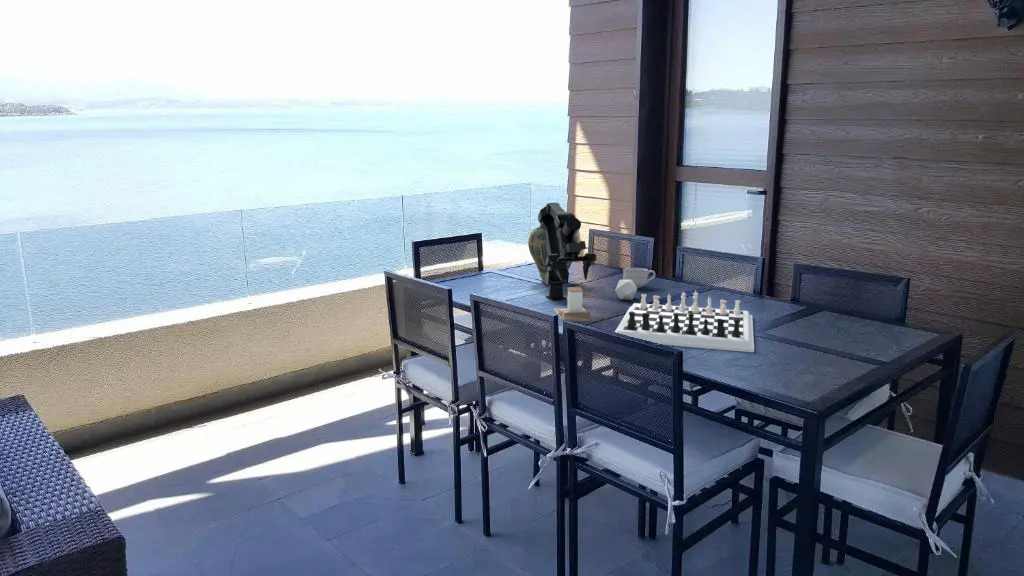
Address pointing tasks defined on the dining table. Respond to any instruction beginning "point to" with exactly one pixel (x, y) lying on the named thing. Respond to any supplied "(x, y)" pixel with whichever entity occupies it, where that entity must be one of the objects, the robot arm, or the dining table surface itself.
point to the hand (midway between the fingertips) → (574, 280)
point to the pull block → (575, 299)
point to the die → (626, 289)
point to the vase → (543, 249)
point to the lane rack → (573, 315)
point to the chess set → (689, 325)
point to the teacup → (637, 276)
